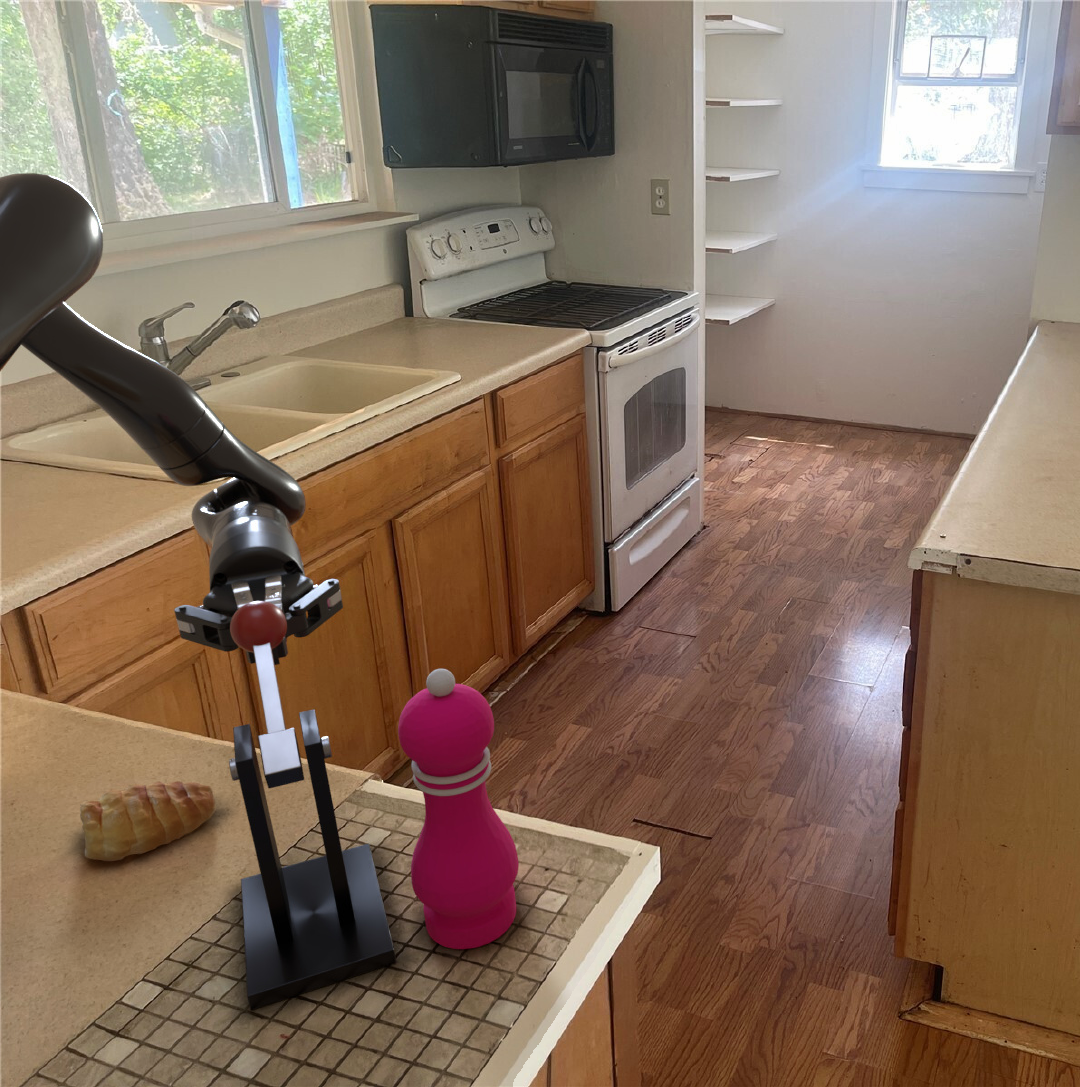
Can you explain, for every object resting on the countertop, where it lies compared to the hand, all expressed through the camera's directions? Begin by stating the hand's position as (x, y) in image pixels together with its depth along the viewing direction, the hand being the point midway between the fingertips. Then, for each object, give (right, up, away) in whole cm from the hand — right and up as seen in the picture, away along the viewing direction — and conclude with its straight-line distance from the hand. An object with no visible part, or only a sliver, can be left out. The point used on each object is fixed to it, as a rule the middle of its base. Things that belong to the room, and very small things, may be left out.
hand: (267, 655), depth 76 cm
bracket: (+5, -19, -4) cm, 20 cm away
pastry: (-12, -15, +5) cm, 20 cm away
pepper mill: (+16, -18, -4) cm, 25 cm away
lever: (+3, -2, -6) cm, 7 cm away
